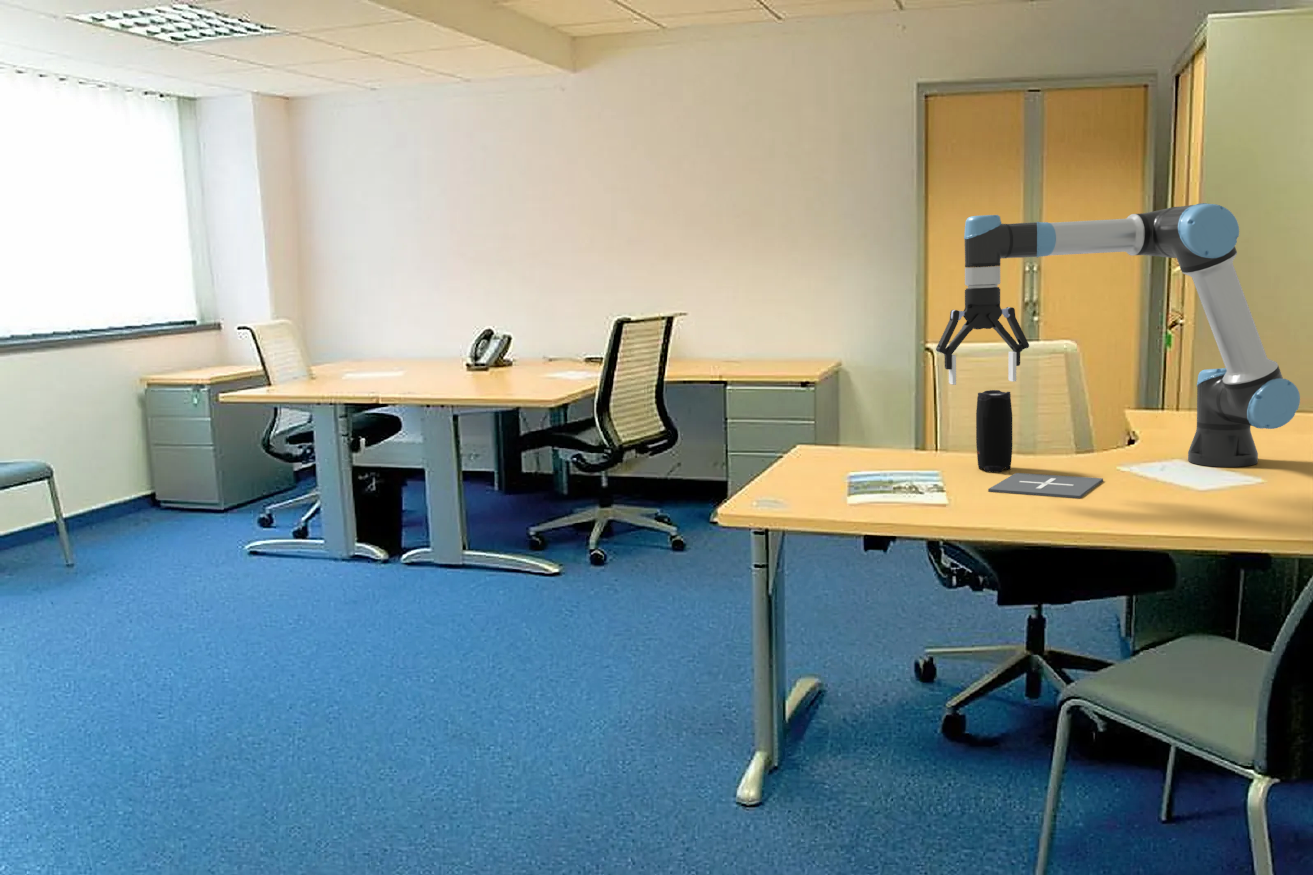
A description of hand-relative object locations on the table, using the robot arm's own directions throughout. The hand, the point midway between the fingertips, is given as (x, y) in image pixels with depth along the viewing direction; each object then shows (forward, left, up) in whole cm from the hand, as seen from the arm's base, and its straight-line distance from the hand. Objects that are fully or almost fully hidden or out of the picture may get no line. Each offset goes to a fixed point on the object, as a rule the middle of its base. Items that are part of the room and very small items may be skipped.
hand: (982, 382), depth 243 cm
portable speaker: (+6, -26, -25) cm, 37 cm away
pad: (-11, -11, -25) cm, 29 cm away
